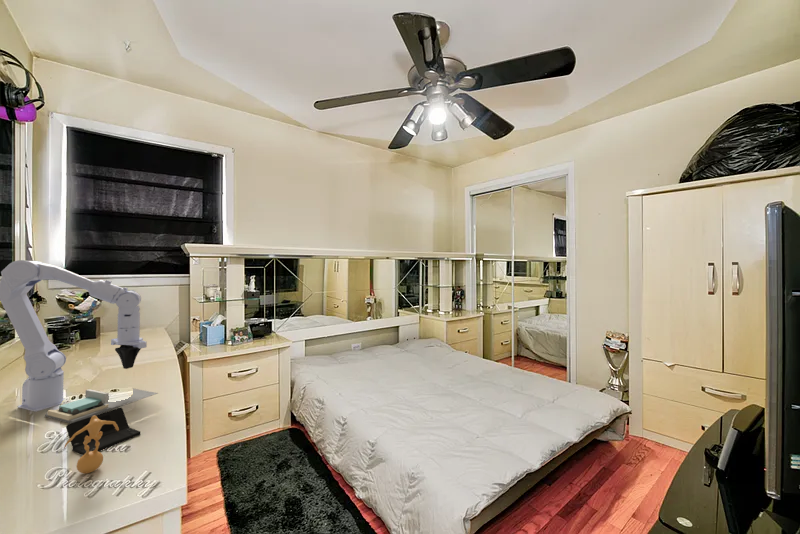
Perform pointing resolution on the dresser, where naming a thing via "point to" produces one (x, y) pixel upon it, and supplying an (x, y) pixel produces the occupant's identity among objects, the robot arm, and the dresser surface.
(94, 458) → the figurine
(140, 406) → the dresser surface
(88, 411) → the dock
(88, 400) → the grey teal-panelled part
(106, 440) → the handheld gaming console
